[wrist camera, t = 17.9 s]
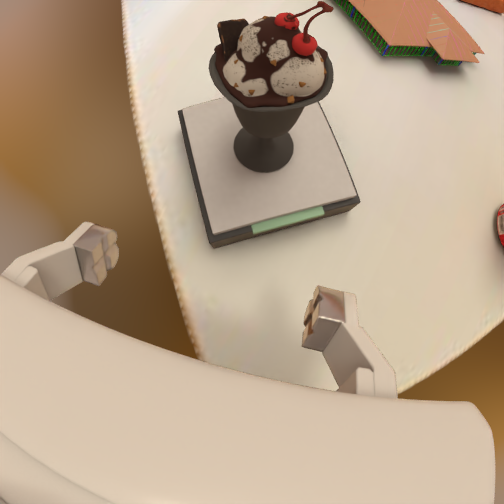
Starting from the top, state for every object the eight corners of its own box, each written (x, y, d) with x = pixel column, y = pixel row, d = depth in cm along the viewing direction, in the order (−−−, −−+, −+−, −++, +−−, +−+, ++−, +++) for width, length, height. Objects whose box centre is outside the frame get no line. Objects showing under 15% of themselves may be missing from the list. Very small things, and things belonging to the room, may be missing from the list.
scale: (350, 212, 26) (365, 201, 23) (214, 250, 26) (208, 244, 22) (304, 98, 28) (310, 77, 24) (183, 126, 27) (175, 106, 24)
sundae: (316, 170, 23) (389, 35, 8) (236, 192, 23) (218, 51, 8) (288, 106, 24) (318, -37, 9) (214, 124, 23) (185, -24, 8)
